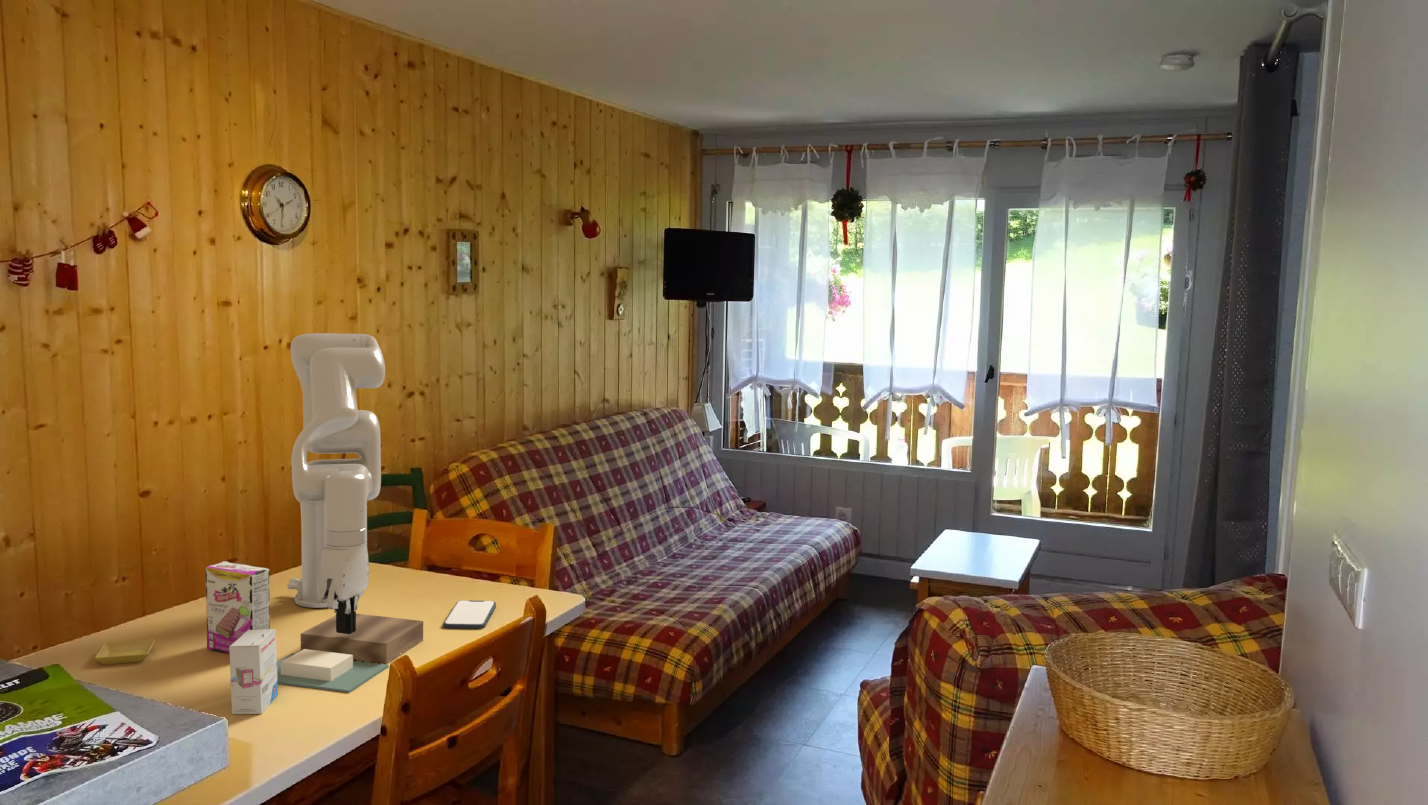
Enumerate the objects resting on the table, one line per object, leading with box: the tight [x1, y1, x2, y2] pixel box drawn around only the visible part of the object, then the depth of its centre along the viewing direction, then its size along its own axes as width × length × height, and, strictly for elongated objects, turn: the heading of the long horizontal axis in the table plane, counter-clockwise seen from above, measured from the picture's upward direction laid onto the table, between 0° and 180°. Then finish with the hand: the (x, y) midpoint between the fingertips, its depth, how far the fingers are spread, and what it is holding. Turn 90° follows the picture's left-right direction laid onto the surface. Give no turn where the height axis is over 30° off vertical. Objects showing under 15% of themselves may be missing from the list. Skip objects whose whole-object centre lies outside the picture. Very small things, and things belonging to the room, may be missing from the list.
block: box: [300, 613, 424, 665], centre depth 201 cm, size 18×14×4 cm
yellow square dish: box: [94, 639, 156, 665], centre depth 192 cm, size 9×9×2 cm
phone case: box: [442, 599, 497, 630], centre depth 222 cm, size 9×2×16 cm
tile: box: [281, 649, 354, 681], centre depth 187 cm, size 10×7×2 cm
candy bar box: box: [205, 561, 271, 654], centre depth 196 cm, size 11×5×16 cm, turn 71°
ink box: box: [229, 628, 279, 715], centre depth 172 cm, size 9×5×12 cm, turn 5°
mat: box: [277, 652, 389, 694], centre depth 187 cm, size 20×13×1 cm, turn 78°
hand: (346, 632), depth 195 cm, fingers closed
